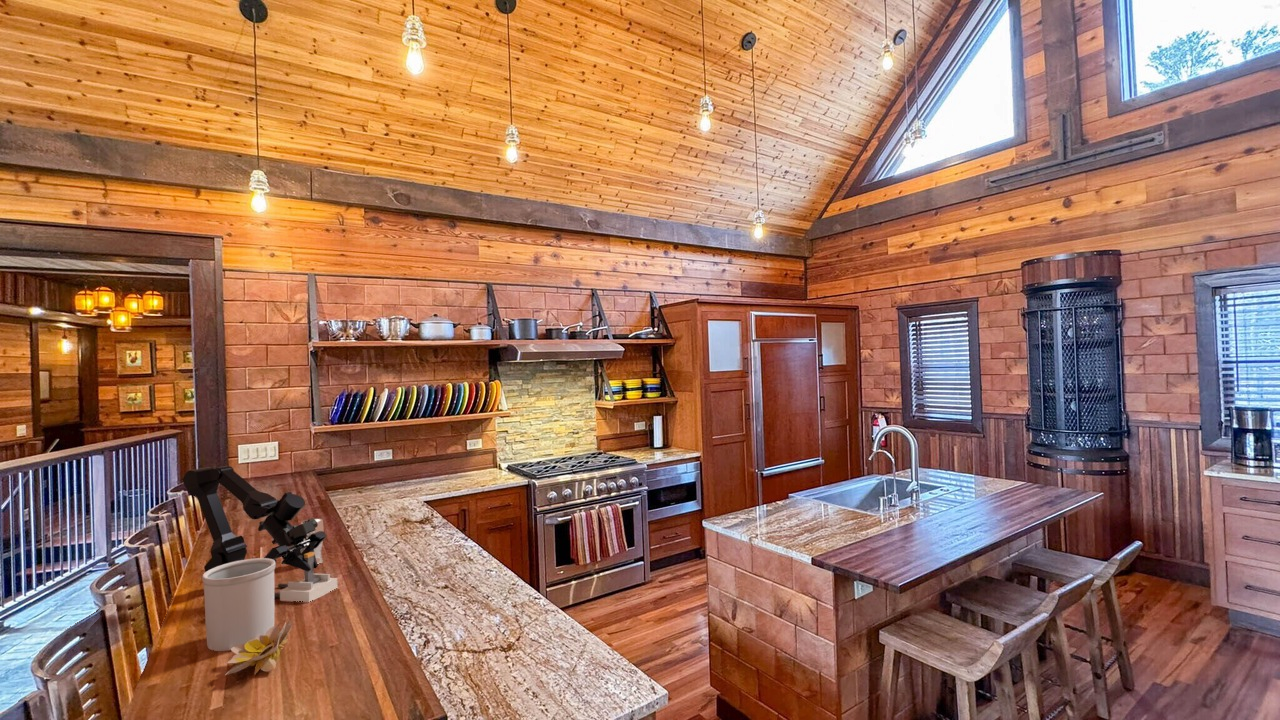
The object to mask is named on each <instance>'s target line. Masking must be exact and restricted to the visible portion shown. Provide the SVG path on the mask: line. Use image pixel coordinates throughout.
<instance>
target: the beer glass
mask: <svg viewBox="0 0 1280 720" xmlns="http://www.w3.org/2000/svg"><path fill="white" fill-rule="evenodd" d="M313 519H314V520H315V521H316V522H317V524H318V526H317V527H316V528H315V529H316V530H315V531H312V532H310V533H308V534H307V535H308V536H307V537H306V538H305V539H304V541H306V540H307V539H308V537H309V536H310V535H311V534H313V533H316V532H319V531H323V532H324V519H323V518H313ZM307 520H308V519H306V520H303V521H301V522H300V525H301V524H303V523H305V521H307ZM324 533H325V532H324ZM323 542H324V540H323V541H322V542H321V543H320V545H319V546H318V547H317V548H315V549H314V554H315V557H316V561H317V564H319V563H321V564H322V563H323V555H322V548H323ZM319 565H320V564H319Z"/></svg>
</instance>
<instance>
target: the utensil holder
mask: <svg viewBox="0 0 1280 720" xmlns="http://www.w3.org/2000/svg"><path fill="white" fill-rule="evenodd" d="M276 564H277V561H276V562H275V560H273V559H269V558H264V557H257V558H248V559H247V558H246V559H244V560H240V561H235V562H231V563H227V564H223V565H220V566H217V567H215V568H212V569H210V570H208V571H207V572H204V573H203V574H202V576H201V578H202V582H203V594H204V612H205V613H204V614H205V616H204V617H205V618H204V620H205V621H204V622H205V631H206V632H205V633H206V634H205V636H206V645H207V649H209V650H211V651H213V650H214V651H215V652H226V651H232V650H231V648H232V647H234V646H238V645H242V644H246V643H247V642H248V641H250V640H252V639H255V638H256V637H258V636H265V634H266V632H267V631H268V630H269V629H270V628H272V627H273V626H275V613H276V612H275V610H276V609H275V597H274V593H275V569H276V566H277V565H276ZM214 651H213V652H214Z"/></svg>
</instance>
